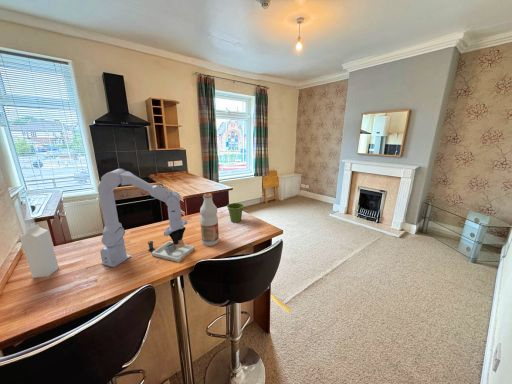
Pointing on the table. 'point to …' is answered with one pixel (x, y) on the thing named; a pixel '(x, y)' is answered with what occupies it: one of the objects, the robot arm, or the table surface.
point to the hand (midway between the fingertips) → (177, 242)
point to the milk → (39, 252)
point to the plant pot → (235, 211)
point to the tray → (173, 252)
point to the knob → (151, 246)
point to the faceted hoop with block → (174, 246)
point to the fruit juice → (209, 221)
